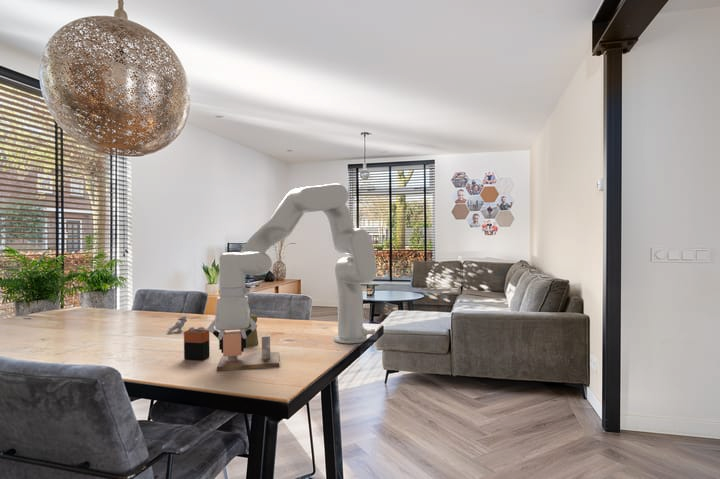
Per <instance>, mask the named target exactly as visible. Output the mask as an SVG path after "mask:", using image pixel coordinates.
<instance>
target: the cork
mask: <svg viewBox="0 0 720 479" xmlns="http://www.w3.org/2000/svg"><path fill="white" fill-rule="evenodd" d="M250 317H251V319H252V320H253V321H254V322H255V323H256V324H257V322H258V316H257V314H253V313H250ZM250 327H251V324H249V327H248V328H246V331H247V330H248V329H249V328H250ZM258 345H259V337H258V330H257V328H256V329H255V330H253V331H252V332H251V333H250V334H249V335H248V336H247V337H246V348H247V347H248V348H249V347H256V346H258Z"/></svg>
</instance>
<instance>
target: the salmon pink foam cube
mask: <svg viewBox="0 0 720 479" xmlns="http://www.w3.org/2000/svg"><path fill="white" fill-rule="evenodd" d="M241 339H242V334H241V331H240V330H225V332H224V334H223V353H222V356H223V357H224V356H240V355H241V354H242V353H243V352H242V351H241Z"/></svg>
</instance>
